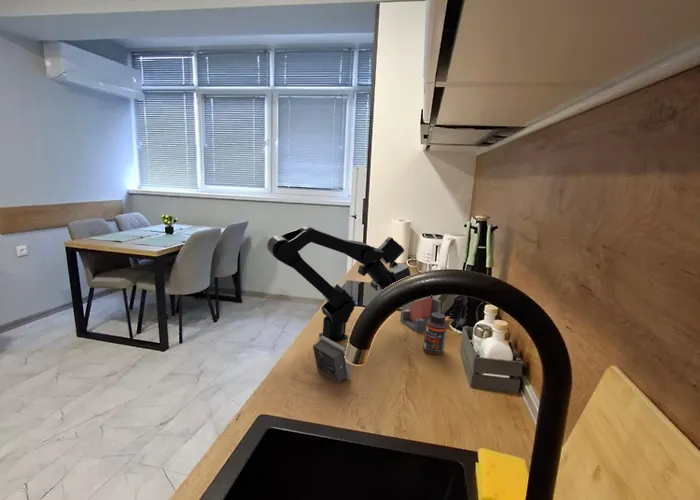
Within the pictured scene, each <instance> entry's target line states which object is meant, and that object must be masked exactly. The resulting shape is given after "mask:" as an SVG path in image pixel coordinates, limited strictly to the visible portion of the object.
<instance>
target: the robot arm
mask: <svg viewBox="0 0 700 500" xmlns="http://www.w3.org/2000/svg"><path fill="white" fill-rule="evenodd" d="M310 243H312V244H316V245H318V246H321V247H324V248H328V249H330V250H332V251H336V252H339V253H341V254H344V255H346V256H348V257H350V258H351V259H353V260H355V261H357V262H358V263H361V264H360V265H358V270H357V273H358V274H359V275H360V276H362V277H365V276H366V275H368V276H369V277H370V279H371V281H370V288H371V289H373V290H374V291H375V292H378V291H380V292H381V290H382V289H384V288H385V287H387V286H389V285H390V284H392V283H394V282H396V281H398V280H400V279H402V278H404V279H405V277H406V278H408V277H407V276H409V277H410V276H411V271H410V267H409V265H408V264H406V263H403V262H396V261H397V259H398V258H399V257H401V255H402V254H403V253H404V252H405V249H404V247H403V246H402V245H401V244H399V243H398V242H397V241H396V240H394V238H393V237H391V236H387V238H386V239H385V240H384V241H383V243H381V245H380V246H378V247H375V246H371V245H370V244H366V243H365V242H363V241H356V240H348V239H343V238H340V237H338V236H334V235H331V234H329V233H326V232H324V231H322V230H318V229H316V228H313V227H311V226H309V225H303V226H301V227H299V228H297V229H295V230H294V229H293V230H291V231H288V232H286V233H283V234H281V235H279V234H277V235H273V236H272V237H270V238H269V240H268V241H267V244H266V245H267V247H266V249H267V251H268V252H269V253H270V254H271V256H273V257H274V258H275V259H276V260H278V261H279V262H281V263H282V264H284V265H286V266H287V267H290V268H292V269H294V271H296V272H297V273H298V274H299V275H301V276H302V277H303V278H304V279H305V280H306V281H307V282H308V283H309V284H310V285H312V287H314V288H315V289H316V290H318V291H319V293H320V294H321V295H322V297H324V299H325V300H326V302H325V303H324V304H323V305H322V306H321V312H322V315H325V317H324V318H323V325H322V326H323V327H322V332H320V333H319V334H318V336H319V337H321V336H324V337H326V338H328V339H330V340H332V341H333V342H335V343H337V342H340V341H342V340H345V339H348V338H349V336H348V335H347V334H346V327H347V323H348V322H349V320H350V317H351V315H352V313H353V312H354V310H355V305H356V304H355V301H354V296H352V295H351V294H350V293H348V291H346V289H345V288H343V287H342V286H341V285H339V284H338V283H336V284H335V286H333V285H331V284H330V283H329V281H327V280H326V279H325V278H324V277H323V276H322V275H320V274H319V273H318V271H316V270H315V269H314V268H313V267H312V266H311V265H310V264H309V263H307V262H306V261H305V260H304V259H303V258H302V256H301V254H300V253H299V251H301V250H302V249H303V248H305V247H306V246H307V245H308V244H310ZM388 264H389V265H388ZM386 265H388V268H387V267H386ZM402 280H403V279H402ZM400 281H401V280H400ZM318 291H317V292H318Z"/></svg>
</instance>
